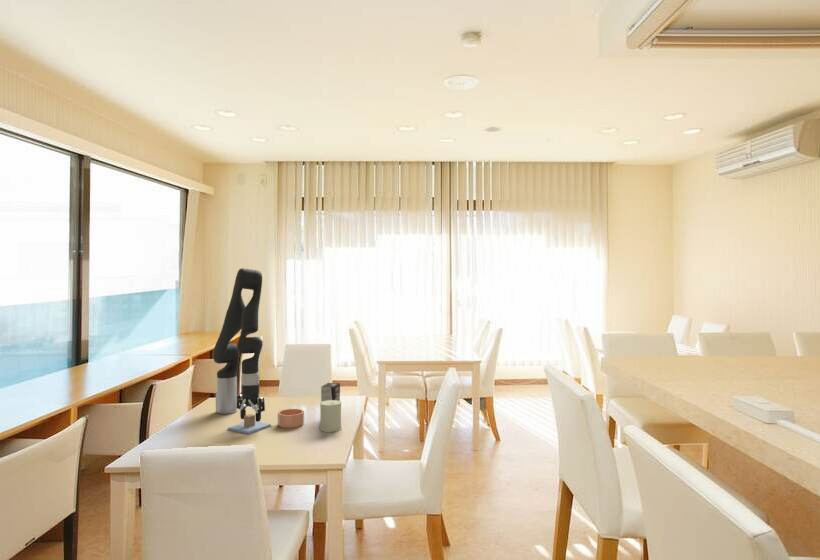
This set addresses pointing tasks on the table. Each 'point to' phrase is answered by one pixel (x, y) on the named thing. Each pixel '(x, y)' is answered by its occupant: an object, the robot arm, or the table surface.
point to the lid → (249, 425)
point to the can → (330, 415)
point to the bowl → (290, 418)
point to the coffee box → (330, 392)
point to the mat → (247, 434)
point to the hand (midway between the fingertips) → (250, 420)
